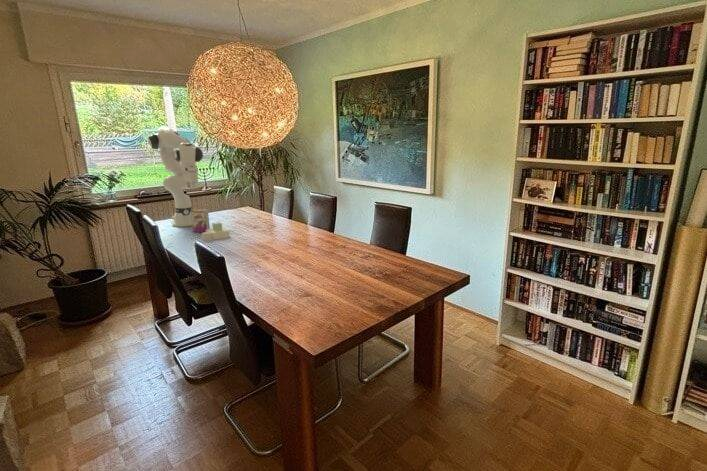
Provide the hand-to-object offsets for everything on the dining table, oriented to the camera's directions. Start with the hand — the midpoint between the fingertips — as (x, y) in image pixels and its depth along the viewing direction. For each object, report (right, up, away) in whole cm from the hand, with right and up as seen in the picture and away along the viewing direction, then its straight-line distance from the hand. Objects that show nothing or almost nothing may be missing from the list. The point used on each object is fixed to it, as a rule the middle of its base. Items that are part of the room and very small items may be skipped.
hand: (191, 188), depth 244 cm
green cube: (+15, -28, +9) cm, 33 cm away
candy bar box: (-2, -29, +22) cm, 37 cm away
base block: (+14, -33, +10) cm, 37 cm away
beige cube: (+10, -35, +2) cm, 37 cm away
